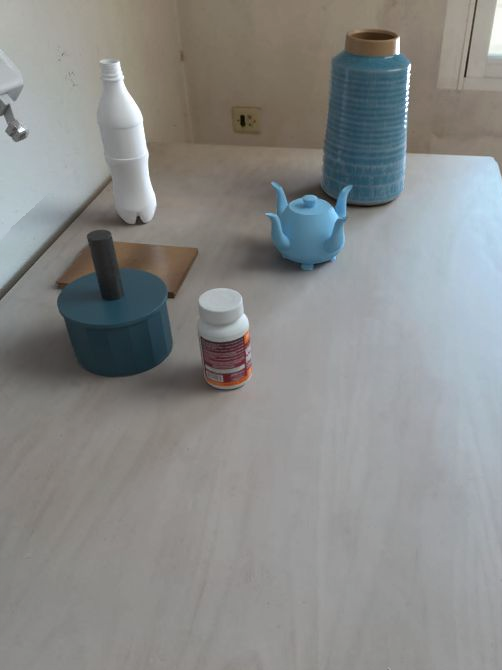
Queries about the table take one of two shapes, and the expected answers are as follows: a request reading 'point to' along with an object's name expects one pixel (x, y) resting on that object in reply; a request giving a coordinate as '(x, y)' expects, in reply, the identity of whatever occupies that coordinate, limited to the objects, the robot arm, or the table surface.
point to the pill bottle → (224, 339)
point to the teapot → (308, 228)
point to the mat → (141, 263)
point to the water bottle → (124, 146)
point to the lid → (110, 291)
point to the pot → (123, 346)
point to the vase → (367, 119)
